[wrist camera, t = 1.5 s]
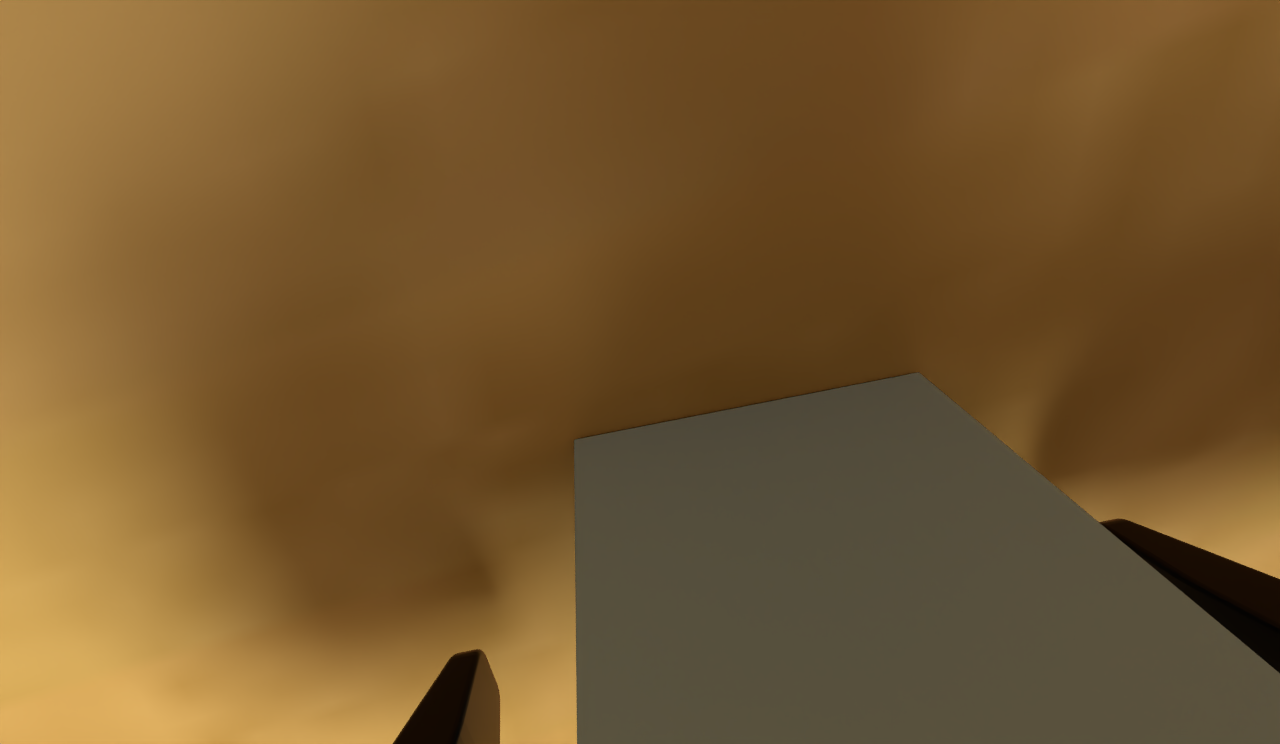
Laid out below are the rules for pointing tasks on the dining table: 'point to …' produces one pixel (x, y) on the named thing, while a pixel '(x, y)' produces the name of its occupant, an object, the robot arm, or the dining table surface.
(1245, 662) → the grey-blue rectangular block
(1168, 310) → the dining table surface
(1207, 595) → the robot arm
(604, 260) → the dining table surface
